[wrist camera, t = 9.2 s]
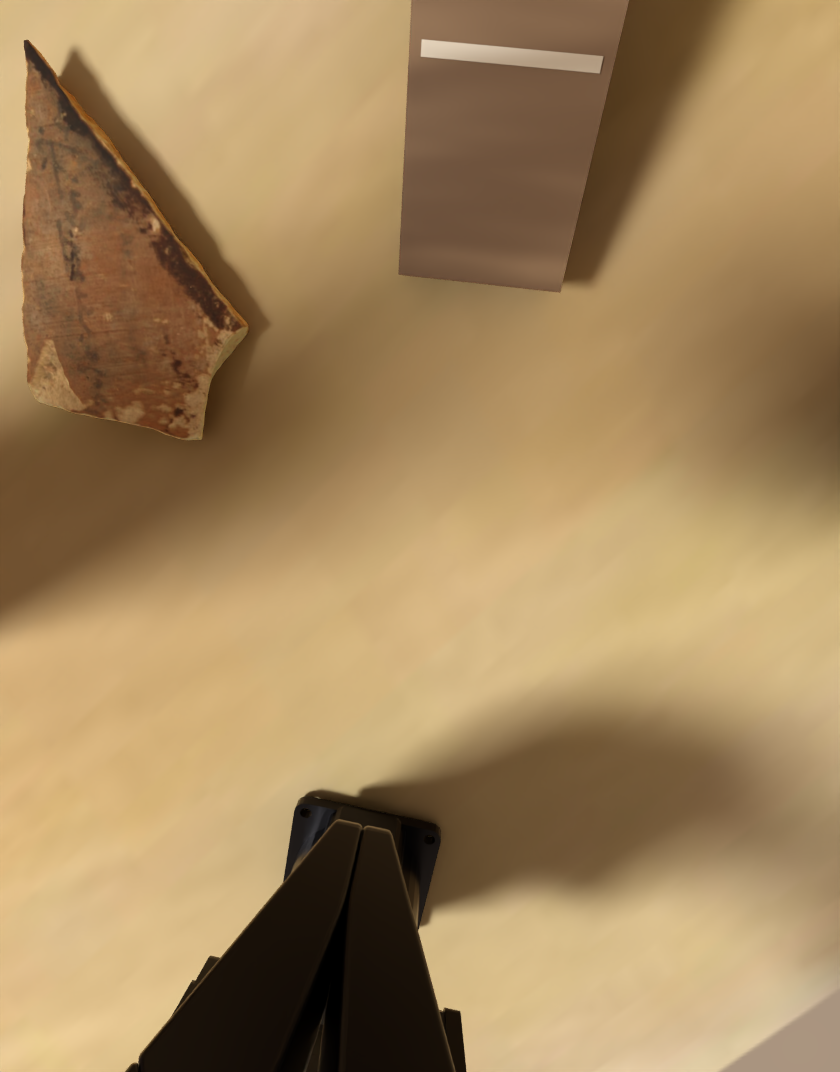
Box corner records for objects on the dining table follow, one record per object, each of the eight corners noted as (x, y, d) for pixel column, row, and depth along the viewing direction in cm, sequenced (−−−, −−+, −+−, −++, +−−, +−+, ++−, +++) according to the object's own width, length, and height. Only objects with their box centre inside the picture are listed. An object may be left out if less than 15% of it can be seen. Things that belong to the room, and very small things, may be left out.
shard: (62, 71, 16) (14, 29, 14) (285, 121, 16) (264, 85, 14) (52, 402, 19) (11, 400, 17) (243, 447, 19) (221, 450, 17)
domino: (560, 292, 15) (706, -324, 9) (398, 274, 15) (427, -342, 9) (554, 282, 16) (675, -257, 10) (405, 265, 16) (435, -274, 10)
